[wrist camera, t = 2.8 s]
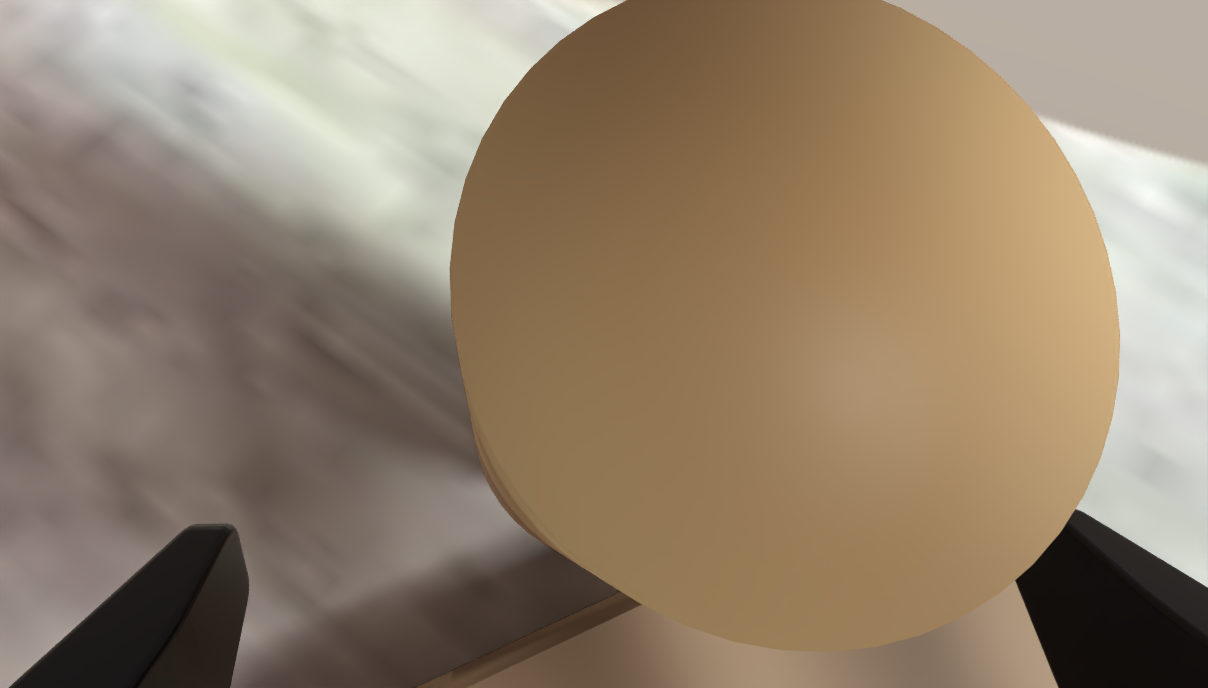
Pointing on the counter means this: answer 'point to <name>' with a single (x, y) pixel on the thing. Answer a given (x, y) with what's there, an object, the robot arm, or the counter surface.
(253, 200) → the counter surface
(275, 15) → the counter surface
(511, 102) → the oak peg
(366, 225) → the counter surface
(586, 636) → the wooden flat block
